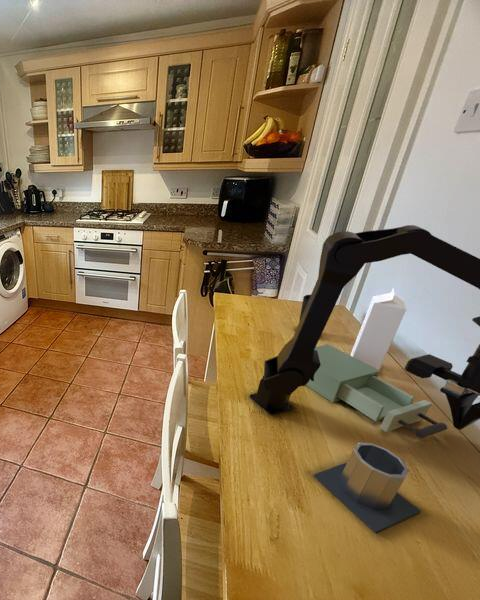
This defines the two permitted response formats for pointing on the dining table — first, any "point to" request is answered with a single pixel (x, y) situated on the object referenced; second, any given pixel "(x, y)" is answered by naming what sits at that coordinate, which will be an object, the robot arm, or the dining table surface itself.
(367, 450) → the tumbler
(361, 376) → the sage green angled casing
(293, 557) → the dining table surface
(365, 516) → the pad
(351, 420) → the dining table surface
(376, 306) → the milk
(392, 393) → the drawer
